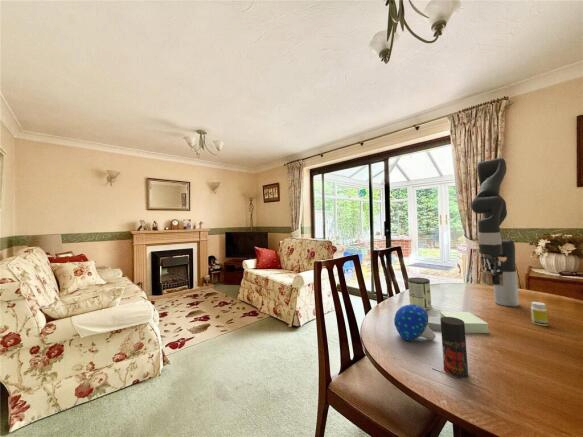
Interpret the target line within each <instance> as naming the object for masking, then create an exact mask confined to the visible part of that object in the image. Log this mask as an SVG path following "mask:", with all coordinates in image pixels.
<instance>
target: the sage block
mask: <svg viewBox="0 0 583 437" xmlns="http://www.w3.org/2000/svg"><path fill="white" fill-rule="evenodd" d="M439 314H440V315H439V316H440V317H439V318H442V317H454V318H458V319H461V320H462V321H464V324H465V334H467V333H470V334H471V333H472V334H473V333H474V334H475V333H477V334H478V333H479V334H489V324H488V323H487V322H486V321H484V319H483V320H482V319H481V318H479V317H478V316H477V315H475V314H473V313H471V312H469V311H461V312H460V311H456V312H455V311H454V312H453V311H439Z"/></svg>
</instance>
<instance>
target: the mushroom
mask: <svg viewBox="0 0 583 437" xmlns="http://www.w3.org/2000/svg"><path fill="white" fill-rule="evenodd" d="M428 316H429V314H428V313H427V311H426V310H424V309H423V308H422V307H420V306H417V305H410V304H405V305H402V306H401V307H399V309H397V310H396V312H395V314H394V319H393V320H394V326H395V328H396V330H397V333H398V334H399V336H400V337H401V338H402V339H403V340H404V341H406V340H407V341H411V342H414V341H416V340H417V339H419V338H420V337H421V338H425V339H427V340H429V341H434V340H435V339H436V337H437V336H436V333H434V331H433V330H432V329H430V328H429V326H428V325H427V324H428Z"/></svg>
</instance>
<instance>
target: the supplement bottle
mask: <svg viewBox="0 0 583 437" xmlns="http://www.w3.org/2000/svg"><path fill="white" fill-rule="evenodd" d="M530 305H531V306H530V316H531V319H530V320H531V322H532V324H535V325H537V326H549V317H548V310H547V308H546V304H545V303H544V302H540V301H531V304H530Z"/></svg>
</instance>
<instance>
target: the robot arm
mask: <svg viewBox="0 0 583 437" xmlns="http://www.w3.org/2000/svg"><path fill="white" fill-rule="evenodd" d="M476 172H477V177H478V181H479V187H480V188H479V191H478V193H477V195H476V196H475V197H473V199H472V201H471V205H470V206H471V211H472V212H473V213H475V214H482V215H483V218H482V219H479V220H478V222H477V226H478V228H477V229H478V248H479V250H478V251H479V254H480V255H483V256H480V260H481V266H482V271H491V272H492V280H493V284H497V285H499V284H500V278H499V275H503V286H493V296H494V303H495V304H498V305H501V306H505V307H518V306H519V305H520V302H519V289H518V288H519V287H518V277H517V269H516V267H517V266H516V265H517V264H516V246H515V242H514V240H512V239H502V236H501V232H500V231H501V230H500V227H501V225H502V223H503V222H504V221H505V220H506V217H507V215H508V210H507V203H506V200H505V199H504V198H503V197H502V196H501V195H500V189H501V184H502V182H503V180H504V178H505V175H506V172H507V163H506V160H505V159H504V158H503V157H498V158H491V159H488V160H487V159H486V160H481V161H478V162H477V166H476ZM499 258H506V259H505V260H500V259H499Z"/></svg>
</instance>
